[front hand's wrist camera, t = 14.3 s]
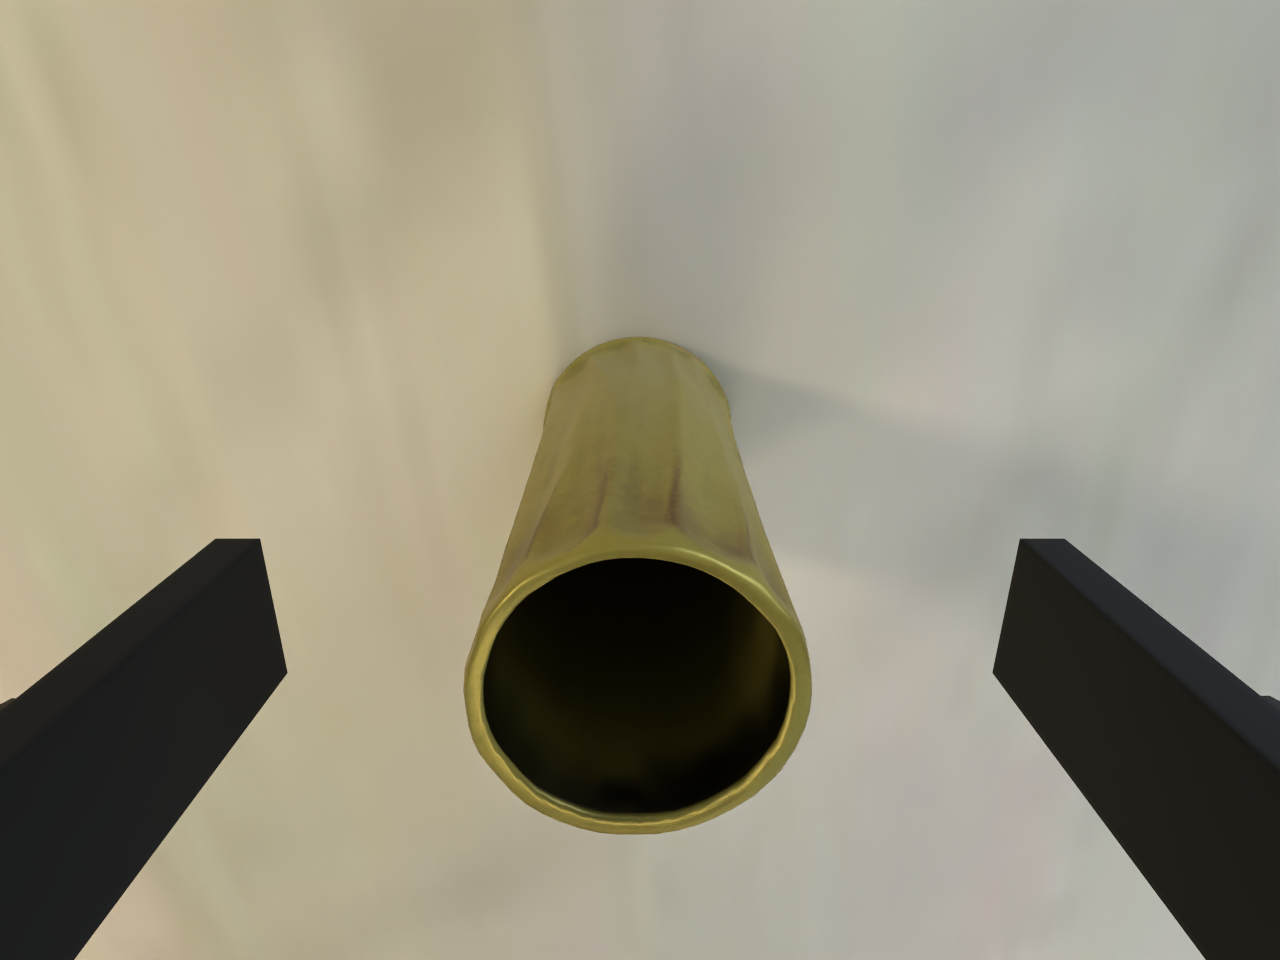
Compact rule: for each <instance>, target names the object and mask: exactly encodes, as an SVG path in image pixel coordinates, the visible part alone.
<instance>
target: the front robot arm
mask: <svg viewBox="0 0 1280 960" xmlns="http://www.w3.org/2000/svg"><path fill="white" fill-rule="evenodd" d="M286 674H287V668H286V663H285V658H284V653H283V649H282V644H281V639H280V634H279V629H278V624H277V619H276V614H275V610H274V605H273V600H272V595H271V590H270V585H269V580H268V575H267V571H266V566H265V561H264V556H263V551H262V546H261V541H260V539H215V540H213V541H212V542H211V543H210V544H208V545H207V546H206V547H205V548H203V549H202V550H201V551H200V552H198V553H197V554H196V555H195V556H193V557H192V558H191V559H190V560H188V561H187V562H186V563H185V564H183V565H182V566H181V567H180V568H179V569H177V570H176V571H175V572H174V573H172V574H171V575H170V576H169V577H167V578H166V579H165V580H164V581H162V582H161V583H160V584H159V585H157V586H156V587H155V588H154V589H152V590H151V591H150V592H149V593H147V594H146V595H145V596H144V597H142V598H141V599H140V600H139V601H137V602H136V603H135V604H134V605H132V606H131V607H130V608H129V609H127V610H126V611H125V612H124V613H122V614H121V615H120V616H119V617H117V618H116V619H115V620H114V621H112V622H111V623H110V624H109V625H107V626H106V627H105V628H104V629H102V630H101V631H100V632H99V633H97V634H96V635H95V636H94V637H92V638H91V639H90V640H89V641H87V642H86V643H85V644H84V645H82V646H81V647H80V648H79V649H77V650H76V651H75V652H74V653H72V654H71V655H70V656H69V657H67V658H66V659H65V660H64V661H62V662H61V663H60V664H59V665H57V666H56V667H55V668H54V669H52V670H51V671H50V672H49V673H47V674H46V675H45V676H44V677H42V678H41V679H40V680H39V681H37V682H36V683H35V684H34V685H33V686H31V687H30V688H29V689H28V690H26V691H25V692H24V693H23V694H21V695H20V696H19V697H18V698H11V699H10V700H8V701H6V702H4V703H2V704H0V960H74V959H75V958H76V957H77V955H78V954H79V952H80V951H81V950H82V948H83V947H84V946H85V944H86V943H87V942H88V940H89V939H90V938H91V936H92V935H93V934H94V932H95V931H96V930H97V928H98V927H99V926H100V924H101V923H102V922H103V920H104V919H105V918H106V916H107V915H108V913H109V912H110V911H111V909H112V908H113V907H114V905H115V904H116V903H117V901H118V900H119V899H120V897H121V896H122V895H123V893H124V892H125V891H126V889H127V888H128V887H129V885H130V884H131V883H132V881H133V880H134V879H135V877H136V876H137V874H138V873H139V872H140V870H141V869H142V868H143V866H144V865H145V864H146V862H147V861H148V860H149V858H150V857H151V856H152V854H153V853H154V852H155V850H156V849H157V848H158V846H159V845H160V844H161V842H162V841H163V840H164V838H165V837H166V835H167V834H168V833H169V831H170V830H171V829H172V827H173V826H174V825H175V823H176V822H177V821H178V819H179V818H180V817H181V815H182V814H183V813H184V811H185V810H186V809H187V807H188V806H189V805H190V803H191V802H192V800H193V799H194V798H195V796H196V795H197V794H198V792H199V791H200V790H201V788H202V787H203V786H204V784H205V783H206V782H207V780H208V779H209V778H210V776H211V775H212V774H213V772H214V771H215V770H216V768H217V767H218V766H219V764H220V763H221V761H222V760H223V759H224V757H225V756H226V755H227V753H228V752H229V751H230V749H231V748H232V747H233V745H234V744H235V743H236V741H237V740H238V739H239V737H240V736H241V735H242V733H243V732H244V731H245V729H246V728H247V727H248V725H249V724H250V722H251V721H252V720H253V718H254V717H255V716H256V714H257V713H258V712H259V710H260V709H261V708H262V706H263V705H264V704H265V702H266V701H267V700H268V698H269V697H270V696H271V694H272V693H273V692H274V690H275V689H276V688H277V686H278V685H279V683H280V682H281V681H282V679H283V678H284V677H285V675H286ZM993 674H994V675H995V677H996V678H997V679H998V681H999V682H1000V683H1001V685H1002V686H1003V688H1004V689H1005V690H1006V692H1007V693H1008V694H1009V696H1010V697H1011V698H1012V700H1013V701H1014V702H1015V704H1016V705H1017V706H1018V708H1019V709H1020V710H1021V712H1022V713H1023V714H1024V716H1025V717H1026V718H1027V720H1028V721H1029V722H1030V724H1031V725H1032V727H1033V728H1034V729H1035V731H1036V732H1037V733H1038V735H1039V736H1040V737H1041V739H1042V740H1043V741H1044V743H1045V744H1046V745H1047V747H1048V748H1049V749H1050V751H1051V752H1052V753H1053V755H1054V756H1055V757H1056V759H1057V760H1058V761H1059V763H1060V764H1061V766H1062V767H1063V768H1064V770H1065V771H1066V772H1067V774H1068V775H1069V776H1070V778H1071V779H1072V780H1073V782H1074V783H1075V784H1076V786H1077V787H1078V788H1079V790H1080V791H1081V792H1082V794H1083V795H1084V796H1085V798H1086V799H1087V800H1088V802H1089V803H1090V805H1091V806H1092V807H1093V809H1094V810H1095V811H1096V813H1097V814H1098V815H1099V817H1100V818H1101V819H1102V821H1103V822H1104V823H1105V825H1106V826H1107V827H1108V829H1109V830H1110V831H1111V833H1112V834H1113V835H1114V837H1115V838H1116V840H1117V841H1118V842H1119V844H1120V845H1121V846H1122V848H1123V849H1124V850H1125V852H1126V853H1127V854H1128V856H1129V857H1130V858H1131V860H1132V861H1133V862H1134V864H1135V865H1136V866H1137V868H1138V869H1139V870H1140V872H1141V873H1142V874H1143V876H1144V877H1145V879H1146V880H1147V881H1148V883H1149V884H1150V885H1151V887H1152V888H1153V889H1154V891H1155V892H1156V893H1157V895H1158V896H1159V897H1160V899H1161V900H1162V901H1163V903H1164V904H1165V905H1166V907H1167V908H1168V909H1169V911H1170V912H1171V913H1172V915H1173V916H1174V918H1175V919H1176V920H1177V922H1178V923H1179V924H1180V926H1181V927H1182V928H1183V930H1184V931H1185V932H1186V934H1187V935H1188V936H1189V938H1190V939H1191V940H1192V942H1193V943H1194V944H1195V946H1196V947H1197V948H1198V950H1199V951H1200V952H1201V954H1202V955H1203V957H1204V958H1205V959H1206V960H1280V701H1278V700H1276V699H1274V698H1272V697H1271V696H1260V695H1259V694H1257V693H1256V692H1255V691H1254V690H1252V689H1251V688H1250V687H1249V686H1247V685H1246V684H1245V683H1244V682H1242V681H1241V680H1240V679H1239V678H1238V677H1236V676H1235V675H1234V674H1233V673H1231V672H1230V671H1229V670H1228V669H1226V668H1225V667H1224V666H1223V665H1221V664H1220V663H1219V662H1218V661H1216V660H1215V659H1214V658H1213V657H1211V656H1210V655H1209V654H1208V653H1206V652H1205V651H1204V650H1203V649H1201V648H1200V647H1199V646H1198V645H1196V644H1195V643H1194V642H1193V641H1191V640H1190V639H1189V638H1188V637H1186V636H1185V635H1184V634H1183V633H1181V632H1180V631H1179V630H1178V629H1176V628H1175V627H1174V626H1173V625H1171V624H1170V623H1169V622H1168V621H1166V620H1165V619H1164V618H1163V617H1161V616H1160V615H1159V614H1158V613H1156V612H1155V611H1154V610H1153V609H1151V608H1150V607H1149V606H1148V605H1146V604H1145V603H1144V602H1143V601H1141V600H1140V599H1139V598H1138V597H1136V596H1135V595H1134V594H1133V593H1131V592H1130V591H1129V590H1128V589H1126V588H1125V587H1124V586H1123V585H1121V584H1120V583H1119V582H1118V581H1116V580H1115V579H1114V578H1113V577H1111V576H1110V575H1109V574H1108V573H1106V572H1105V571H1104V570H1103V569H1101V568H1100V567H1099V566H1098V565H1097V564H1095V563H1094V562H1093V561H1092V560H1090V559H1089V558H1088V557H1087V556H1085V555H1084V554H1083V553H1082V552H1080V551H1079V550H1078V549H1077V548H1075V547H1074V546H1073V545H1072V544H1070V543H1069V542H1068V541H1067V540H1065V539H1020V541H1019V546H1018V551H1017V556H1016V561H1015V566H1014V571H1013V575H1012V580H1011V585H1010V590H1009V595H1008V600H1007V605H1006V610H1005V614H1004V619H1003V624H1002V629H1001V634H1000V639H999V644H998V649H997V653H996V658H995V663H994V668H993Z"/></svg>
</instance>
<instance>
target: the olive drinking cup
mask: <svg viewBox="0 0 1280 960" xmlns="http://www.w3.org/2000/svg"><path fill="white" fill-rule="evenodd" d="M811 696H812V681H811V668H810V659H809V654H808V649H807V644H806V639H805V635H804V632H803V629H802V627H801V624H800V622H799V619H798V617H797V615H796V612H795V610H794V607H793V604H792V602H791V599H790V597H789V594H788V591H787V589H786V586H785V583H784V581H783V578H782V575H781V573H780V570H779V568H778V565H777V563H776V560H775V557H774V554H773V552H772V549H771V546H770V544H769V541H768V539H767V536H766V534H765V531H764V528H763V525H762V522H761V519H760V516H759V513H758V510H757V507H756V503H755V500H754V497H753V494H752V491H751V488H750V485H749V482H748V480H747V477H746V474H745V471H744V468H743V464H742V461H741V458H740V454H739V451H738V449H737V446H736V443H735V439H734V435H733V430H732V425H731V417H730V409H729V405H728V400H727V398H726V396H725V393H724V391H723V389H722V387H721V385H720V383H719V382H718V380H717V379H716V377H715V376H714V375H713V373H712V372H711V371H710V370H709V368H708V367H707V366H706V365H705V364H704V363H703V362H702V361H701V360H699V359H698V358H697V357H696V356H694V355H693V354H692V353H690V352H689V351H687V350H685V349H683V348H682V347H679V346H677V345H675V344H672V343H669V342H666V341H663V340H659V339H655V338H648V337H629V338H622V339H617V340H613V341H609V342H606V343H603V344H600V345H598V346H596V347H594V348H592V349H590V350H589V351H587V352H585V353H584V354H582V355H581V356H580V357H578V358H577V359H576V360H575V361H574V362H573V363H572V364H571V365H569V366H568V368H567V369H566V370H565V371H564V372H563V374H562V375H561V376H560V377H559V379H558V380H557V381H556V383H555V385H554V387H553V389H552V391H551V394H550V397H549V400H548V404H547V409H546V413H545V419H544V427H543V434H542V438H541V441H540V444H539V447H538V450H537V453H536V456H535V460H534V463H533V466H532V469H531V473H530V476H529V479H528V481H527V484H526V487H525V490H524V494H523V497H522V500H521V504H520V506H519V509H518V512H517V515H516V518H515V521H514V525H513V528H512V531H511V534H510V536H509V539H508V542H507V545H506V548H505V551H504V554H503V558H502V561H501V565H500V568H499V571H498V575H497V578H496V581H495V584H494V586H493V589H492V591H491V593H490V596H489V598H488V601H487V603H486V606H485V608H484V610H483V613H482V615H481V620H480V623H479V626H478V629H477V632H476V636H475V639H474V641H473V644H472V647H471V650H470V653H469V655H468V658H467V662H466V666H465V675H464V697H465V705H466V712H467V719H468V725H469V729H470V732H471V735H472V739H473V742H474V744H475V746H476V748H477V750H478V752H479V753H480V755H481V756H482V757H483V759H484V760H485V762H486V763H487V764H488V765H489V767H490V768H491V769H492V770H493V771H494V772H495V773H496V775H497V776H498V777H499V778H500V779H501V780H502V781H503V783H504V784H505V785H506V786H507V787H508V788H509V789H510V790H511V791H512V792H513V793H514V794H515V795H516V796H517V797H519V798H520V799H521V800H522V801H523V802H524V803H526V804H527V805H529V806H530V807H532V808H534V809H535V810H537V811H539V812H541V813H542V814H544V815H547V816H549V817H551V818H553V819H555V820H558V821H560V822H563V823H566V824H569V825H572V826H575V827H577V828H581V829H585V830H590V831H594V832H599V833H608V834H659V833H665V832H672V831H678V830H681V829H685V828H689V827H692V826H696V825H698V824H701V823H703V822H706V821H709V820H711V819H713V818H715V817H717V816H719V815H721V814H723V813H725V812H727V811H729V810H731V809H733V808H735V807H736V806H738V805H740V804H741V803H743V802H745V801H746V800H748V799H750V798H751V797H753V796H754V795H756V794H757V793H758V792H759V791H760V790H761V789H762V788H763V787H764V786H765V785H766V784H768V783H769V782H770V781H771V780H772V779H773V778H774V777H775V776H776V775H777V774H778V773H779V772H780V771H781V769H782V768H783V766H784V765H785V763H786V762H787V760H788V759H789V757H790V756H791V754H792V753H793V751H794V750H795V748H796V746H797V744H798V742H799V739H800V737H801V735H802V733H803V731H804V729H805V726H806V722H807V719H808V715H809V711H810V704H811Z"/></svg>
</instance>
